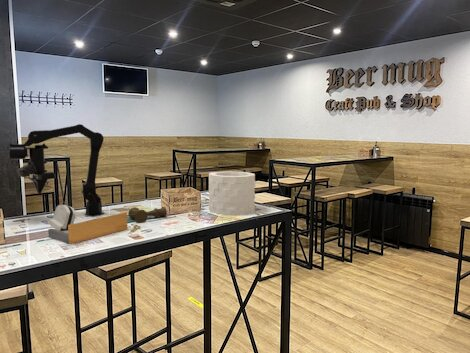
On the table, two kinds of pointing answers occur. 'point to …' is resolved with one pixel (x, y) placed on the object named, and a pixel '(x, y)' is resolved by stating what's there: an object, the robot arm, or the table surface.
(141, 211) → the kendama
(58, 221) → the hinge
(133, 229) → the brass key
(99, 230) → the wooden rectangular panel
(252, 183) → the basket
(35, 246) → the table surface
